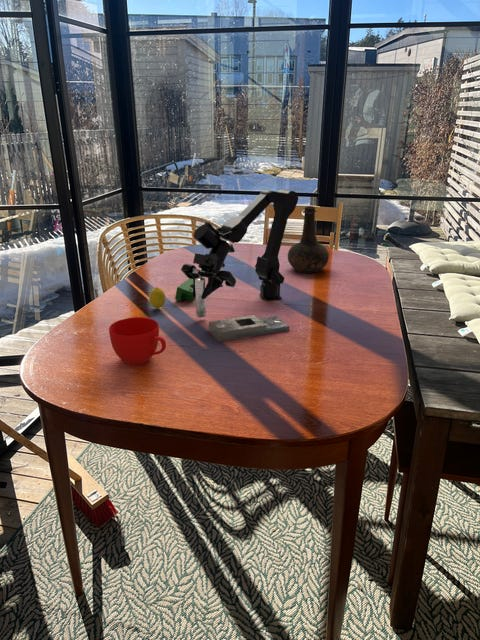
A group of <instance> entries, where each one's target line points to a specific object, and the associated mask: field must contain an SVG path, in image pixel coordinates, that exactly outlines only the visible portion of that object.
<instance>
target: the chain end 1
mask: <svg viewBox="0 0 480 640" xmlns="http://www.w3.org/2000/svg"><path fill="white" fill-rule="evenodd" d="M260 319H261V318H259V317H257V316H256V314H254V315H253V314H252V315H247V316H239V317H233V318H226V319H220V320H218V319H217V320H213V321H208V332H209V333H210V334H211V333H212V334H211V335H212V336H213V337H214V339H215V340H216V341H217V342H219V343H221V342H225V341H233V340H237V339H236V334H242V333H249V332H255V331H261V330H266V324H264V323H263V322H262V321H261V320H260ZM244 323H251V324H252V325H247V326H240V325H239V324H244Z"/></svg>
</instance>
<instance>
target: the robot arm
mask: <svg viewBox="0 0 480 640" xmlns="http://www.w3.org/2000/svg"><path fill="white" fill-rule="evenodd" d="M298 202H299V196H298V194H297V192H296V191H295V190H289V189H282V188H281V189H278V190H277V191H274V190H270V189H263V190H260V192H259V194H258V195H257V196H256V197H255V198H254V199H253V200H252V201H251V202H250V203H249V204H248V205H247V206H246V207H245V208H244V210H242V211H241V213H240V214H238V215H237V216H235V217H234V218H231V219H229V220H227V221H226V222H224V223H223V224H222V225H221V226H220V227H218V228H215V227H214V226H213V225H212V224H211V223H210V222H208V221H205V222H204V224H201V225H200V226H199V227H197V228H195V231H194V232H193V238H194V240H196V241H197V242H198V243H199V244H200V245H202V246H203V247H204V248H205V249H206V250H207V249H210V250H209V252H208V253H205V254H203V253H202V254H201V253H194V257H193V261H192V264H189V263H184V264H182V267H181V268H180V271H181V272H182V273H183V274H184V275H185V277H187V278H188V279H193V295H192V296H193V297H194V298H196V295H195V279H196V278H207V284H205V290H204V292H203V294H202V297H201V298H202V299H205V298H208V297H209V296H210V295H211V294H212V293H213V292H215V291H216V290H218V289H219V288H223V286H224V285H223V283H224V284H225V286H226V287H230V288H234V287H235V286H236V284H237V279H236V277H235V276H234V274H232V272H231V271H229V270H223V269H222V268H225V266H226V263H225V261H226V259H227V256H228V254H229V253H235V252H236V251H235V248H234V245H233V244H236V243H237V244H238V243H240V242H241V241H242V240H243V238H244V237H245V235H246V234H247V232H248V228H249V226H250V225H251V224H252V223H253V222H254V221H255V220H256V219H257V218H258V217H259V216H260V214H262V213H263V212H264V211H265V209H267V208H268V207H269V205H271V204H272V206H273V211H274V216H273V218H272V219H273V220H272V223H271V228H270V232H269V236H268V240H267V243H266V247H265V249H264V253H263V254H262V255H261V256H259V255H258V256H257V257H256V264H255V265H254V268H255V274H256V275H257V277H258V279H259V280H260V281H261V285H260V286H259V287H260V291H259V292H260V294H259V296H260V297H261V298H263V300H265V301H274V300H280V299H283V297H282V296H281V284H283V283H284V280H285V276H284V275H282V273H281V272H280V260H279V253H280V250H281V246H282V242H283V239H284V236H285V235H284V234H285V231H286V228H287V227H286V226H287V224H288V219H289V217H290V216H291V215H292V214H293V212H294V211H295V209H296V207H297V205H298ZM227 241H228V242H227ZM229 242H231V243H233V244H230V243H229ZM195 264H196V265H198V267H196V265H195Z"/></svg>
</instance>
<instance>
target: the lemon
mask: <svg viewBox="0 0 480 640" xmlns="http://www.w3.org/2000/svg"><path fill="white" fill-rule="evenodd" d="M148 297H149V298H148V301H149V303H150V305H151V306H152V307H153V308H155V309H157V310H160V308H162V307H163V306H164V305H165V303H166V294H165V291H164V290H163V289H161V288H159V287H158V286H156V287H154V288H153V289H151V290H150V292H149V296H148Z"/></svg>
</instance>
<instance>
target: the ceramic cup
mask: <svg viewBox="0 0 480 640" xmlns="http://www.w3.org/2000/svg"><path fill="white" fill-rule="evenodd" d="M159 325H160V324H159V322H158V321H156V319H152V318H149V317H138V316H137V317H136V316H135V317H127V318H126V317H125V318H122V319H120V320H117V321H114V322H113V323H112V324H111V325H109V327H108V334H109V338H110V343H111V347H112V349H113V351H114V353H115V354H116V356H117V357H118V358H119V359H120V360H121V361H122V362H124V363H125V364H126V365H129V366H140V365H141V366H142V365H144V364H146V363H148V362H149V361H150V359H151V358H152V357H153V356H154V355H156V356H157V355H159V354H161V353H163V352H164V351H165V350H166V347H167V342H166V340H165V338H164V337H162V336H160V335H159V334H160V326H159ZM159 342H160V344H161V349H160V350H158V351H157V349H158V346H159V345H158V344H159Z"/></svg>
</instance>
